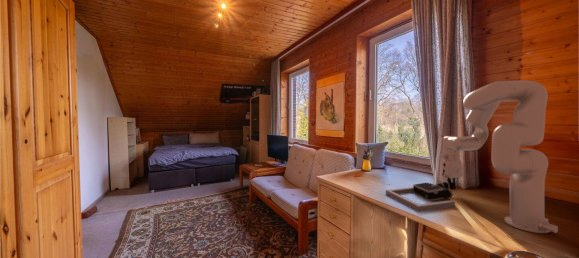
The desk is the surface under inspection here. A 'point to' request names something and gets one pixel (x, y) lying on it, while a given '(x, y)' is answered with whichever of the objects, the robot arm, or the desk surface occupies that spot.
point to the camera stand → (418, 207)
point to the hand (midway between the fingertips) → (451, 188)
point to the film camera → (433, 191)
